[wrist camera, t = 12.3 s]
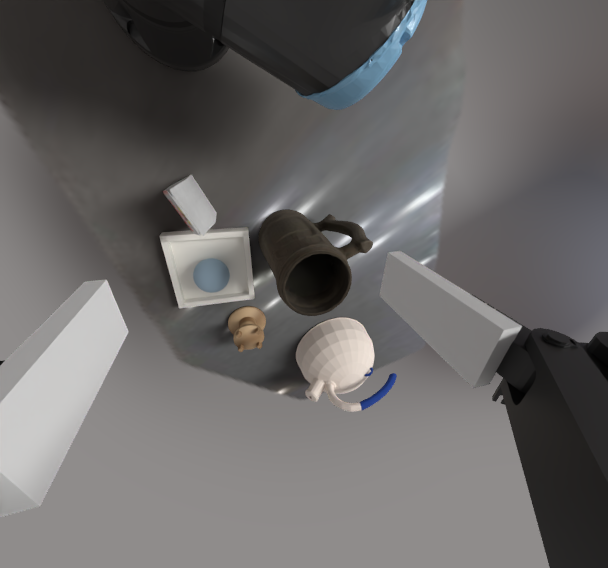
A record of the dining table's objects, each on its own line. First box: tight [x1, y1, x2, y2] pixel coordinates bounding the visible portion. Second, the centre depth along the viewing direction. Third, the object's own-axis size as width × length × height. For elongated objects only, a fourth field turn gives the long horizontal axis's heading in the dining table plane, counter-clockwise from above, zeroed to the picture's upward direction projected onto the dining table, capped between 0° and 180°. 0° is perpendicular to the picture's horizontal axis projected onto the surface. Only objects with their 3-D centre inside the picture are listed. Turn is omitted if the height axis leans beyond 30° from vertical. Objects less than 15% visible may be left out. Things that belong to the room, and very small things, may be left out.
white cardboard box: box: [163, 175, 217, 236], centre depth 37 cm, size 4×7×10 cm, turn 25°
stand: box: [228, 306, 266, 352], centre depth 52 cm, size 8×8×7 cm
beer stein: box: [259, 210, 373, 316], centre depth 40 cm, size 15×11×20 cm
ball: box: [193, 258, 230, 293], centre depth 44 cm, size 6×6×6 cm
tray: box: [159, 227, 255, 308], centre depth 46 cm, size 14×14×2 cm
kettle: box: [296, 318, 396, 412], centre depth 59 cm, size 20×21×18 cm
